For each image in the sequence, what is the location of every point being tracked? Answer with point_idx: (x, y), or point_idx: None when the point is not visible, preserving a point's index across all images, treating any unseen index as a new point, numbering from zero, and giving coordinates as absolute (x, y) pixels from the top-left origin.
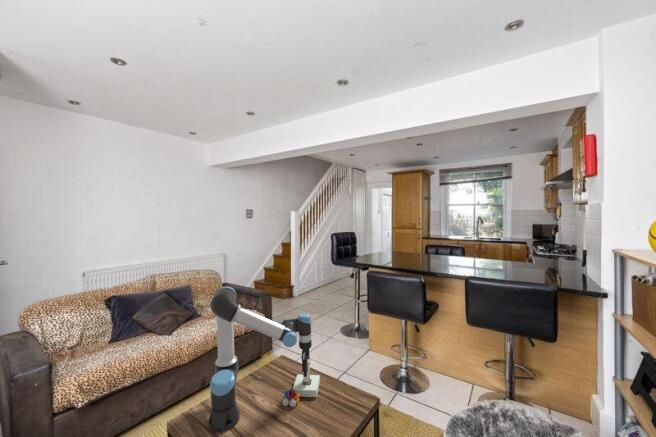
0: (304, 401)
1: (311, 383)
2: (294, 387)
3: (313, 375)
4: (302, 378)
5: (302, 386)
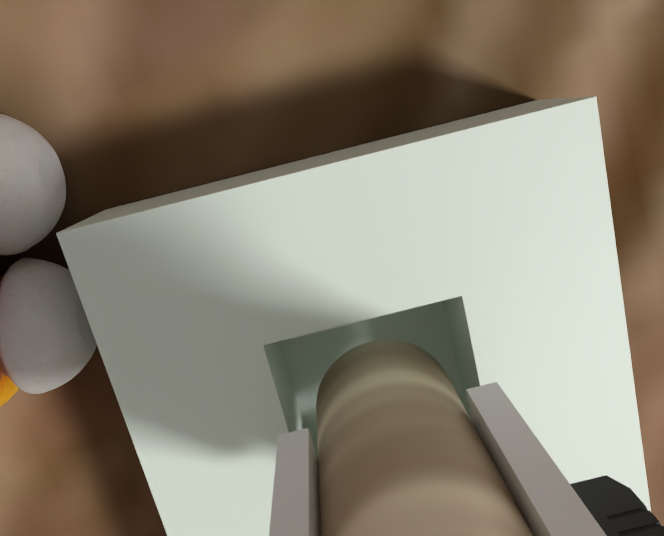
0: (76, 446)
1: None
2: (133, 249)
3: (628, 453)
4: (476, 280)
5: (226, 393)
